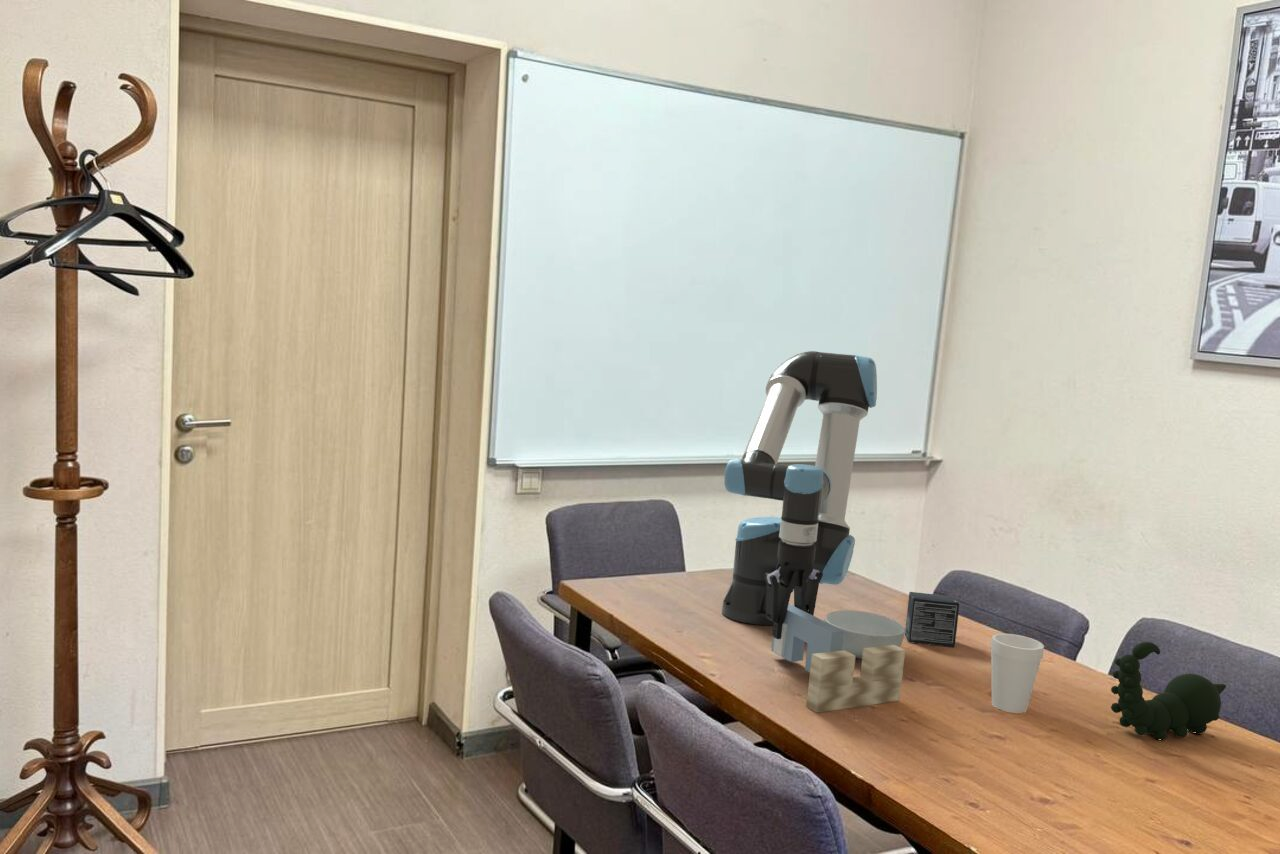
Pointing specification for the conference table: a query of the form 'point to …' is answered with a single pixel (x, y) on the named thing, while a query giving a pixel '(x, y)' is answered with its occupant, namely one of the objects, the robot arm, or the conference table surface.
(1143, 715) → the toy figurine
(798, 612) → the blue-grey arch block
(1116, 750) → the conference table surface
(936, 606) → the small box
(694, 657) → the conference table surface
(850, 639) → the cereal bowl
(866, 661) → the notched birch block
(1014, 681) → the foam cup
